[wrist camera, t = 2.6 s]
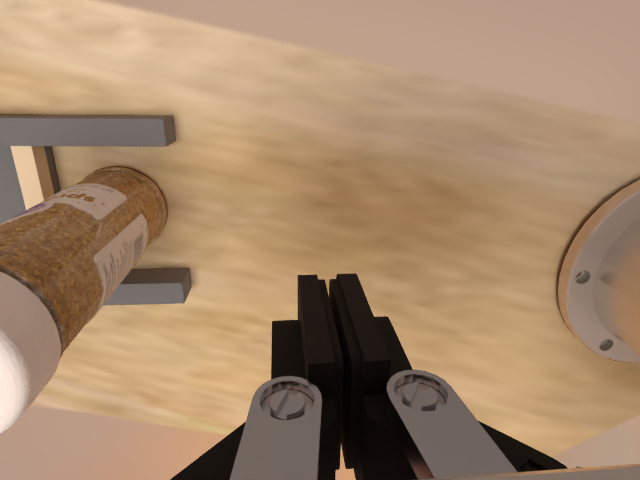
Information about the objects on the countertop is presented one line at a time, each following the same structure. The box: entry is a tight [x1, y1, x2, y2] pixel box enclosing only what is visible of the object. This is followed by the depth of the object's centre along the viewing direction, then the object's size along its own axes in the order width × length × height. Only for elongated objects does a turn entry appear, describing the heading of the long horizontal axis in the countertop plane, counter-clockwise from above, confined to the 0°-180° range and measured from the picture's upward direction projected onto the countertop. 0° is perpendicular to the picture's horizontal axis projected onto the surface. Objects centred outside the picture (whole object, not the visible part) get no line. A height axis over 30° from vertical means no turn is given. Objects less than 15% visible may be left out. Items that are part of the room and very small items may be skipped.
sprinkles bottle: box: [0, 167, 167, 433], centre depth 16 cm, size 5×5×14 cm
